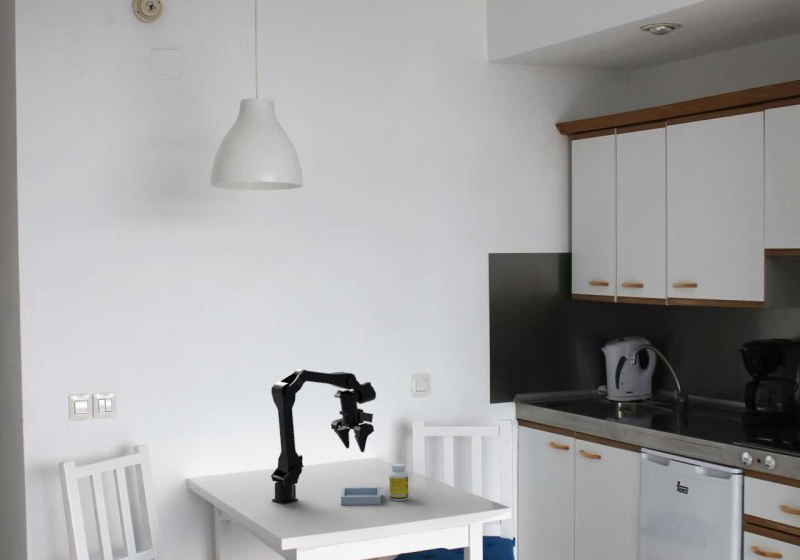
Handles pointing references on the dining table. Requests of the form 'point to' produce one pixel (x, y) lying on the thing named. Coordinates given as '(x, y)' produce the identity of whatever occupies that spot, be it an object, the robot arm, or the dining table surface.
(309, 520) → the dining table surface
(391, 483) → the pill bottle
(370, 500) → the dish
